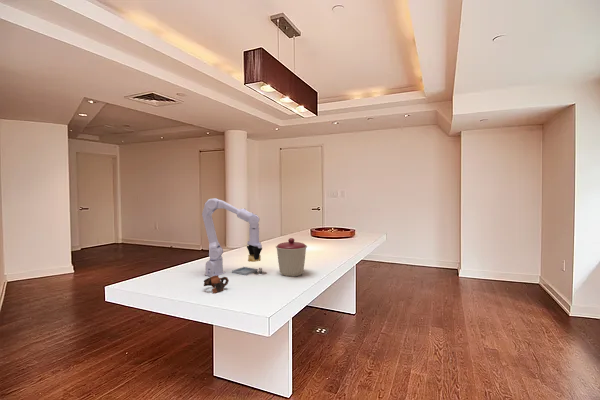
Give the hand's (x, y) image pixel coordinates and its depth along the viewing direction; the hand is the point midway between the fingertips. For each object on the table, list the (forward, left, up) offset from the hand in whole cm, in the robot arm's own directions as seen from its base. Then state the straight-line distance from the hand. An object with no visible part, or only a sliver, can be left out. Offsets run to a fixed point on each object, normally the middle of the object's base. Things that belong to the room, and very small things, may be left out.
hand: (254, 258), depth 190 cm
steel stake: (+1, -4, -9) cm, 10 cm away
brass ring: (0, 0, -1) cm, 1 cm away
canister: (+10, -20, -9) cm, 24 cm away
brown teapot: (-33, -4, -9) cm, 34 cm away
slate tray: (-2, +6, -9) cm, 11 cm away
